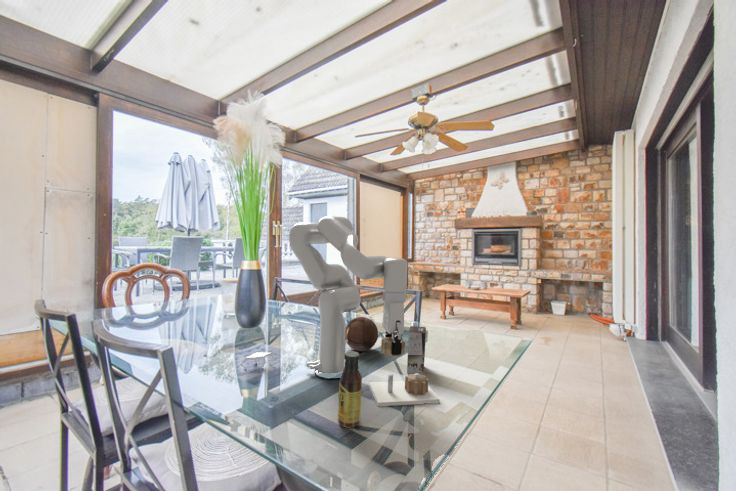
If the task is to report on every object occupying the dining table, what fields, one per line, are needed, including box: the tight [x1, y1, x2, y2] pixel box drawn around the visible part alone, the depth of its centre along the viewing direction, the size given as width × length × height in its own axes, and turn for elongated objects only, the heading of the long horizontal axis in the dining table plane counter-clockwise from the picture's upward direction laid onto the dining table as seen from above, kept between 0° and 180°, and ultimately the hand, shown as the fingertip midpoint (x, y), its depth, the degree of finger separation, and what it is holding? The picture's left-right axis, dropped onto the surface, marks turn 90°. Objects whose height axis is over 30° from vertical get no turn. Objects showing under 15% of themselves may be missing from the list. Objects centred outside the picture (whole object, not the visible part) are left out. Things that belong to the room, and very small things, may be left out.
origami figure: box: [239, 351, 276, 369], centre depth 130 cm, size 12×8×5 cm
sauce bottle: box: [337, 350, 363, 429], centre depth 95 cm, size 7×6×20 cm
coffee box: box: [406, 325, 427, 376], centre depth 134 cm, size 9×6×16 cm
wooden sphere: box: [345, 316, 379, 352], centre depth 153 cm, size 15×15×15 cm
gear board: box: [368, 373, 440, 407], centre depth 114 cm, size 20×14×7 cm
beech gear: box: [380, 336, 406, 358], centre depth 111 cm, size 7×7×4 cm
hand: (392, 349), depth 112 cm, fingers closed on beech gear, 7 cm apart
